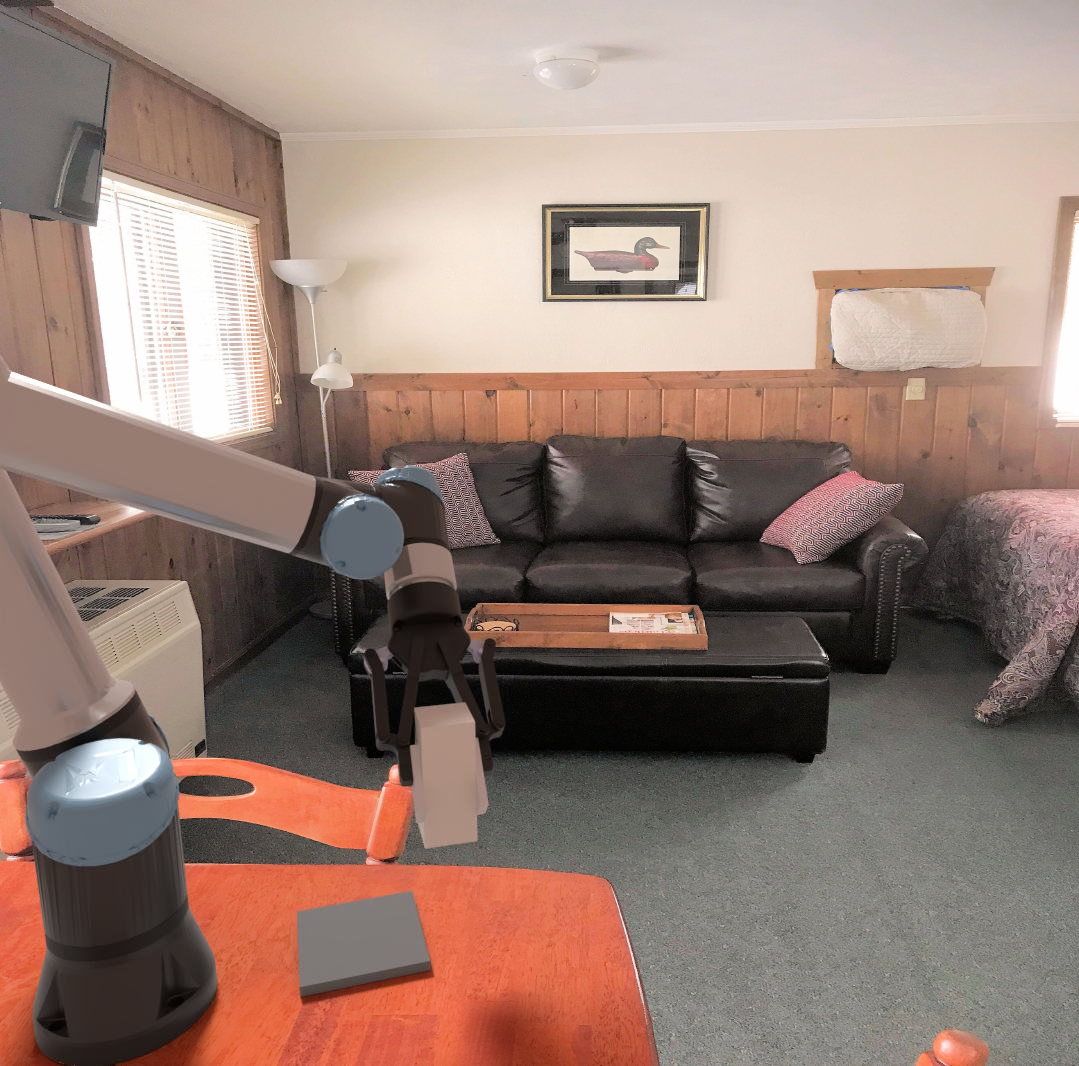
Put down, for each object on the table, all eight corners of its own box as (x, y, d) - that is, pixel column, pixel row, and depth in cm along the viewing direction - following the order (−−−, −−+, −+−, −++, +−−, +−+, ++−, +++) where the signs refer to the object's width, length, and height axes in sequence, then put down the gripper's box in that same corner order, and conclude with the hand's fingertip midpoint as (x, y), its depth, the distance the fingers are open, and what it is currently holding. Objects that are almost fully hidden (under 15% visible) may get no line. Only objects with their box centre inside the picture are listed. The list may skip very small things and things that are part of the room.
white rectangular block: (424, 848, 83) (420, 727, 81) (417, 822, 88) (414, 707, 86) (477, 841, 85) (475, 721, 82) (467, 815, 89) (465, 702, 87)
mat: (300, 997, 82) (299, 987, 81) (297, 920, 93) (296, 911, 93) (430, 970, 85) (430, 960, 85) (412, 899, 96) (412, 890, 96)
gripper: (500, 607, 100) (539, 813, 87) (335, 620, 95) (351, 840, 83) (510, 571, 94) (554, 787, 81) (335, 583, 89) (352, 814, 77)
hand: (452, 813), depth 82 cm, fingers closed on white rectangular block, 5 cm apart
